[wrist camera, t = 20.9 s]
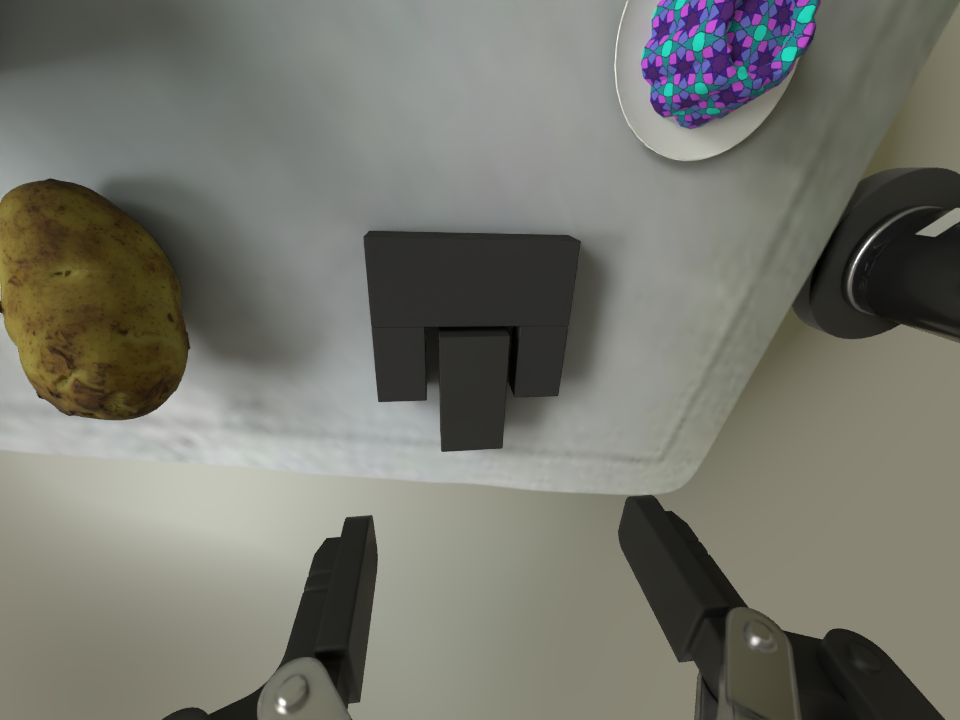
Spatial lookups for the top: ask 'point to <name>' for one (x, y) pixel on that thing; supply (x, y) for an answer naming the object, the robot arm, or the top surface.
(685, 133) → the pudding
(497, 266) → the base pad
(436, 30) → the top surface
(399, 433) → the top surface
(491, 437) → the black rectangular block
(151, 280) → the potato
